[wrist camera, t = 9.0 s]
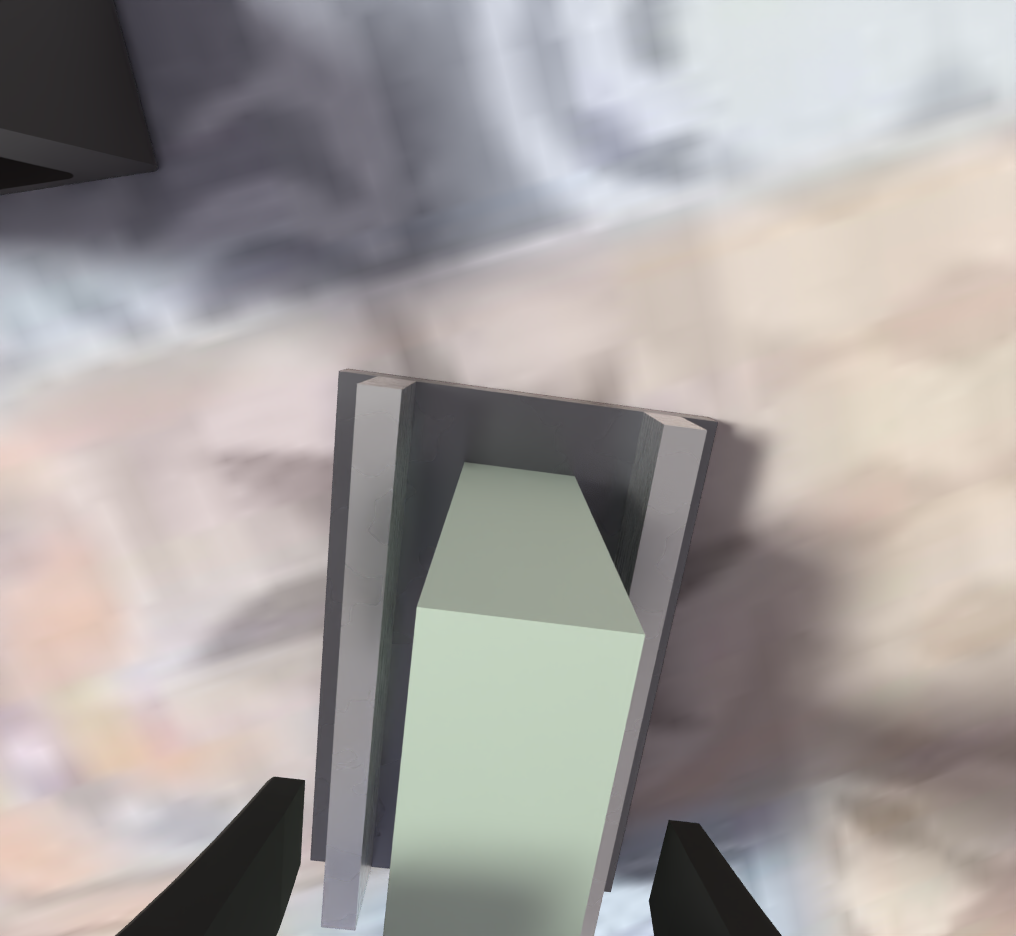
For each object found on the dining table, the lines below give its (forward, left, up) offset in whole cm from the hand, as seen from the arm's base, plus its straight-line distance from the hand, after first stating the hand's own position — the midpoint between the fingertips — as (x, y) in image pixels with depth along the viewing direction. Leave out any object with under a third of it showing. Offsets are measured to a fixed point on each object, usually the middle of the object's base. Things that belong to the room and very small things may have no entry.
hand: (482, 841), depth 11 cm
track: (0, 0, -7) cm, 7 cm away
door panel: (0, 0, -6) cm, 6 cm away
